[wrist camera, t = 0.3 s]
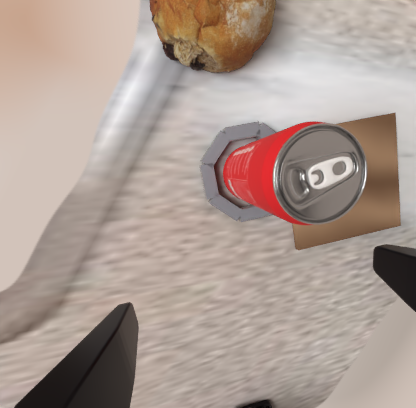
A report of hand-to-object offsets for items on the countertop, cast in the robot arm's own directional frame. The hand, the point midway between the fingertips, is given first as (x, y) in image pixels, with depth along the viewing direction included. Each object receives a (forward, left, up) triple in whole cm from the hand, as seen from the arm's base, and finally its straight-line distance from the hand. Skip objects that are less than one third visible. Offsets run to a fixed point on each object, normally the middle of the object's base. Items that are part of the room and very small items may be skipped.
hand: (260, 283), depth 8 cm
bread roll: (+17, -3, -15) cm, 23 cm away
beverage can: (+3, -4, -15) cm, 16 cm away
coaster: (0, -14, -15) cm, 20 cm away
